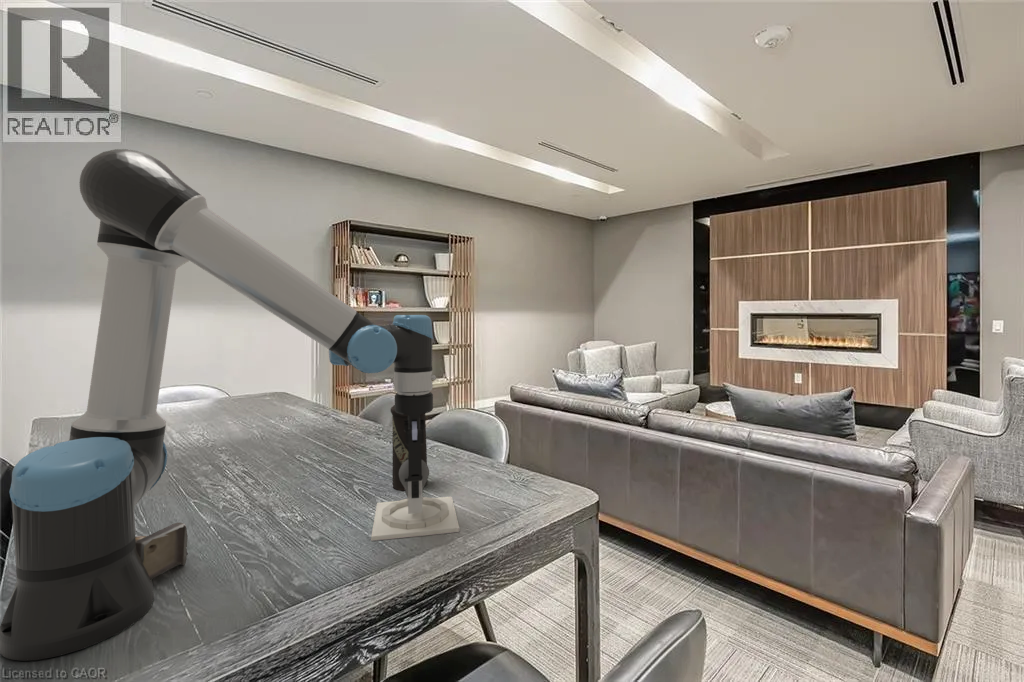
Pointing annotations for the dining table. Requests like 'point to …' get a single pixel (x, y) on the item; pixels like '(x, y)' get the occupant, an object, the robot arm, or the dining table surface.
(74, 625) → the robot arm
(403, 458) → the container
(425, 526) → the socket
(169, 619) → the dining table surface
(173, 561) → the decorative sculpture
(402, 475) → the light bulb
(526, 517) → the dining table surface
